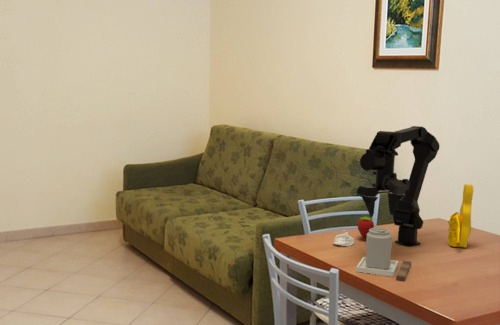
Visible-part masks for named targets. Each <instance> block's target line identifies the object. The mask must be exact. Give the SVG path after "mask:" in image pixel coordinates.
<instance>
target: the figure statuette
mask: <svg viewBox="0 0 500 325" xmlns="http://www.w3.org/2000/svg"><path fill="white" fill-rule="evenodd" d="M473 195H474V185H473V184H464V185H463V191H462V200H461V205H460V209H459V212H455V213H452V214H451V216H450V217H449V221H447V223H448V225H449V228H448V230H447V231H448V234H447V242H448V245H449V246H450V247H454V248H455V247H456V248H464V249H465V248H467V246H468V240H469V239H470V235H471V232H472V204H473V202H472V201H473Z"/></svg>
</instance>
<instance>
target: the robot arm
mask: <svg viewBox="0 0 500 325" xmlns="http://www.w3.org/2000/svg"><path fill="white" fill-rule="evenodd" d="M407 142H410V144H411V145H410V146H412V147H413V149H412V153H413V158H414V162H413V165H412V169H411V172H410V175H409V179H408V178H402V179H398V177H397V176H398V175H397V173H396V172H395V160H396V158H395V157H396V156H399V153H398V151H396V150H397V149H398V148H400V147H401V145H402V144H403V143H407ZM439 150H440V143H439V141H438V139H437V137H435V135H433V134H432V133H430V132H429V131H428V130H427V129H426V127H424V126H419V125H418V126H417V125H413V126H410V127H408V128H403V129H399V130H395V131H385V130H380V131H378V132H376V135H374V138H373V139H372V142H371V143H370V146H369V148H368V149H366V150H365V153H363V155H362V156H361V158H360V160H359V163H360V167H361V168H362V170H364V171H366V172H368V171H373V173H372V174H373V175H374V176H375V179H374V183H372V186H371V185H358V187H357V191H356V194H357V195H359V197H361V199H362V200H363V203H364V205H365V207H366V209H367V213H368V214H369V216H370V218H373V217H374V214H375V205H376V201H377V200H378V198H379V197H377V196H378V195H379V194H386V193H387V198H388V210H389V211H388V212H389V215H391V216H392V218H393V223H394V226H398V231H397V240H395V241H394V243H396V244H399V245H402V246H405V247H406V246H407V247H412V246H416V245H421V241H418V230H421V229H423V225H424V220H423V218H422V217H421V215H420V212H421V209H420V206H419V203H418V201H419V197H420V194H421V191H422V187H423V185H424V180H425V177H426V175H427V171H428V167H429V164H430V163H431V162H432V161H434V159H435V158H436V156H437V154H438V152H439Z"/></svg>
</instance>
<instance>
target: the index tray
mask: <svg viewBox="0 0 500 325" xmlns="http://www.w3.org/2000/svg"><path fill="white" fill-rule="evenodd" d="M398 267H399V260H392V259H391V263H390V267H389V268H388V269H386V270H380V269H372V268H368V266H367V265H366V256H362V258H361V260H360V261H359V263H358V264H357V265H356V268H355V270H356V271H355V272H356V273H359V272H363V273H362V274H367V273H370V274H369V275H375V274H376V275H375V276H382V277H383V276H384V277H391V278H393V277H394V275H395V274H396V272H397V270H398Z"/></svg>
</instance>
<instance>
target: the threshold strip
mask: <svg viewBox="0 0 500 325" xmlns="http://www.w3.org/2000/svg"><path fill="white" fill-rule="evenodd" d="M411 266H412V261H411V260H403V261H402V263H401V264H400V267H399V270H398V272H397V274H396V276H395V281H401V282H405V281H406V279H407V276H408V274H409V271H410V269H411Z"/></svg>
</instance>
